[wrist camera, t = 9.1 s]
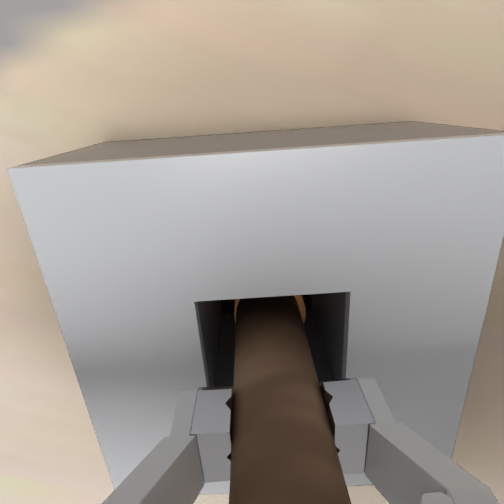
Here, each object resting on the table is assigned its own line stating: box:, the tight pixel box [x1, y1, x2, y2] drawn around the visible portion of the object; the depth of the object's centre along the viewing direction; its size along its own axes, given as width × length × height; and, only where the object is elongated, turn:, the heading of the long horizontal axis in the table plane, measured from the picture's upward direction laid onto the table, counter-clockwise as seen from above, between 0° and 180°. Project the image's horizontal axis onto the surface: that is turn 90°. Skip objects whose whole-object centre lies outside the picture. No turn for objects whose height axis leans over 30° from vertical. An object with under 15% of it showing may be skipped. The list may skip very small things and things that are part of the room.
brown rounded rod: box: [229, 295, 351, 504], centre depth 10 cm, size 3×3×10 cm
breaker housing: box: [7, 121, 504, 495], centre depth 15 cm, size 14×14×7 cm
